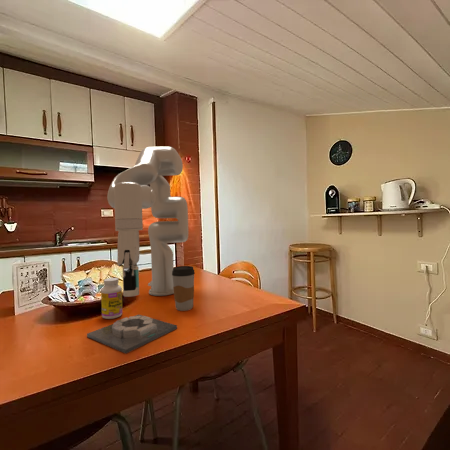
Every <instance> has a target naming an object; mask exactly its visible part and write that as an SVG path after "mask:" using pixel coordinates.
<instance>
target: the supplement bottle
mask: <svg viewBox="0 0 450 450" xmlns="http://www.w3.org/2000/svg"><path fill="white" fill-rule="evenodd" d="M103 284H104V286H103V287H102V288H101V289H100V296H101V297H100V301H101V302H100V303H101V317H102V319H106V320H113V319H116V318H117V319H118V318H119V317H121V316H122V315H123V287H122V286H121V285H119V278H118V277H108V278H104V279H103Z"/></svg>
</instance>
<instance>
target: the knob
mask: <svg viewBox="0 0 450 450" xmlns="http://www.w3.org/2000/svg"><path fill="white" fill-rule="evenodd" d="M130 268H131V269H132V267H130ZM123 271H124V267H122V272H123ZM139 273H140V269H139V266H138V265H137V266H134V276H135V280H136V289H135V290H130V291H124V284H123V283H122V297H129V298H131V297H136V296H139V295H140V280H139V279H140V277H139V276H140V274H139Z"/></svg>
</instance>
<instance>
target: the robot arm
mask: <svg viewBox="0 0 450 450" xmlns="http://www.w3.org/2000/svg"><path fill="white" fill-rule="evenodd" d="M183 167H184V165H183V159H182V158H181V155H180V154H179V152H178V151H177V149H176V148H174V147H173V146H147V147H144V148H143V149H141V151H140V153H139V155H138V158H137V160H136V162H135V164H134V165H133V166H131V167H129V168H128V169H126V170H124V171H122V172H120V173H118V174H117V175H116V176H115V177H114V178H113V179H112V181H111V183H110V185H109V188H108V191H107V202H108V205H109V206H110V207H111V208H113V209H114V219H115V220H114V225H115V229H114V230H115V232H118V233H117V261H116V262H117V263H116V264H117V266H118V267H121V266H123V267H124V271H123V270H122V285H123V284H124V291H130V290H135V289H136V280H135V276H134V266H138V262H139V261H140V233H139V231H143V230H144V228H143V223H144V222H143V210H144V209H145V210H146V209H149V208H150V209H151V215H152V217H154V218H156V219H177V220H173V221H172V220H169V221H168V220H166V221H164V220H163V221H161V220H160V221H155V222H152V223H150V224H149V226H148V229H147V232H148V233H147V234H148V239H149V245H150V255H151V256H150V257H151V281H150V282H148V284H147V286H148V287H150V289H148V294H149V295H151V296H154V297H155V296H156V297H157V296H158V297H162V296H163V297H165V296H170V295H174V288H173V276H172V271H173V268H174V253H173V249H172V248H171V246H170V245H169V244H170V243H171V244H173V243H176V244H177V243H185V242H186V241H188V240H189V210H188V202H187V199H186V198H185V197H183V196H171V195H172V194H171V185H170V183H169V182H168V181H167V179H166V178H165V177H164V176H179V175H181V174H182V173H183ZM123 267H122V268H123ZM130 267H132V269H131V268H130Z"/></svg>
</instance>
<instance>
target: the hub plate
mask: <svg viewBox="0 0 450 450" xmlns="http://www.w3.org/2000/svg"><path fill="white" fill-rule="evenodd" d="M177 329H178V325H176V324H174V323H170V322H167V321H162V320H160V319H156V318H153V317H149V316H146V315H142V314H136V315H133V316H129V317H123V318H120V319H118V320H116V321H115V322H113V324H112V323H111V324H110V325H107V326H106V325H105V326H104V327H102V328H99V329H97V330H94V331H90V332H88V333H86V337H87V338H88V339H91V340H93V341H96V342H98V343H100V344H102V345H105V346H106V347H109V348H112V349H115V350H116V351H119V352H121V353H124V354H128V353H130V352H132V351H134V350H136V349H138V348H139V349H140V347H143V346H145V345H147V344H149V343H150V342H152V341H154V340H157V339H159V338H161V337H164V336H165V335H167V334H169V333H171V332H173V331H175V330H177Z"/></svg>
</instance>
